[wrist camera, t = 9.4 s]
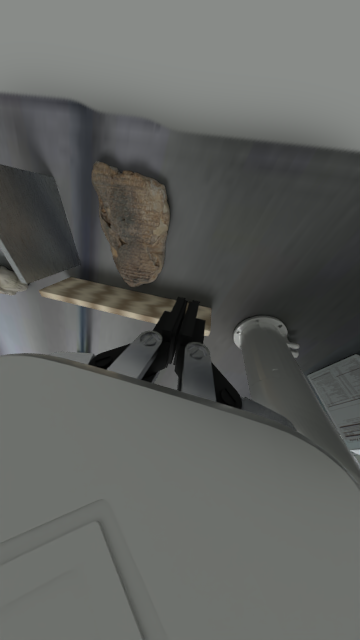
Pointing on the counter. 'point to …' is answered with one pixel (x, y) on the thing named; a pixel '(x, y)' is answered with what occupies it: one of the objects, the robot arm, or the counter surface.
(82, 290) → the shelf wall
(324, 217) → the counter surface
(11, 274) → the fossil replica
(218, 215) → the counter surface
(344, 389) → the supplement box
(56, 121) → the counter surface
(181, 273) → the counter surface
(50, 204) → the bookend
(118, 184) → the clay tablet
